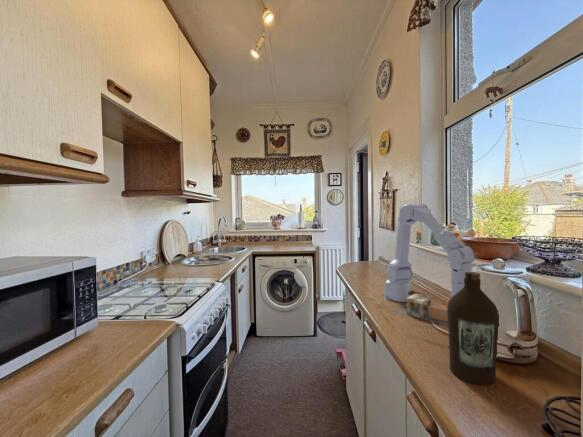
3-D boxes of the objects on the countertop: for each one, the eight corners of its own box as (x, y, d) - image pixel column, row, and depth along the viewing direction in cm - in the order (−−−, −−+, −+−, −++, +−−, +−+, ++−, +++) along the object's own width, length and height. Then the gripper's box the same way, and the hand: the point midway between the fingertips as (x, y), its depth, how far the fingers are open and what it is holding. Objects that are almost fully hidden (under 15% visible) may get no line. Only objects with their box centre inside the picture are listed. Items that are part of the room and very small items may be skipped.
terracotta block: (428, 317, 101) (428, 306, 100) (432, 314, 103) (432, 303, 103) (462, 325, 93) (462, 314, 93) (465, 322, 95) (465, 310, 95)
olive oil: (444, 358, 75) (444, 267, 74) (490, 366, 71) (491, 269, 70) (450, 381, 65) (451, 276, 64) (505, 391, 61) (506, 279, 60)
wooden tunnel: (406, 313, 104) (406, 298, 104) (415, 308, 110) (415, 293, 110) (423, 318, 100) (423, 301, 100) (431, 311, 106) (431, 296, 105)
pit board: (392, 314, 107) (392, 311, 107) (403, 307, 114) (403, 304, 114) (453, 330, 92) (453, 326, 92) (461, 321, 99) (461, 318, 99)
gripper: (468, 288, 87) (468, 331, 87) (479, 280, 97) (479, 318, 97) (444, 284, 92) (444, 324, 92) (457, 276, 102) (456, 313, 102)
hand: (460, 321), depth 95 cm, fingers closed on terracotta block, 4 cm apart
